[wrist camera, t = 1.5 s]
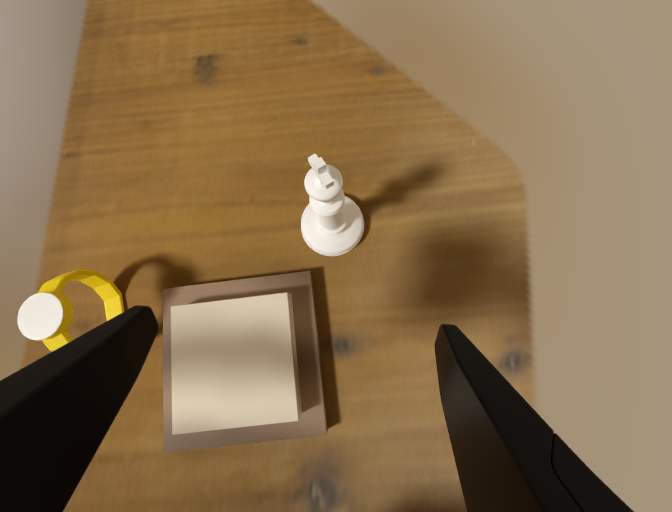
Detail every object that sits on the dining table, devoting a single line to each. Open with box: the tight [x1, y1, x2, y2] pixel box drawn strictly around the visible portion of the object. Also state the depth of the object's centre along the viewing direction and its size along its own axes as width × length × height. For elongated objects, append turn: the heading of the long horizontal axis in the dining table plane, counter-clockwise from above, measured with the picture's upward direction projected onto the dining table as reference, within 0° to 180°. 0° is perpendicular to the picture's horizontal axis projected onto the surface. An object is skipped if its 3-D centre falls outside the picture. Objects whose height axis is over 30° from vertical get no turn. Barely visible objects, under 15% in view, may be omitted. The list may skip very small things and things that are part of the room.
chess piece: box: [301, 154, 364, 256], centre depth 19 cm, size 5×5×10 cm
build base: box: [163, 271, 328, 452], centre depth 21 cm, size 11×11×2 cm
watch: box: [18, 269, 125, 352], centre depth 20 cm, size 6×3×6 cm, turn 18°
